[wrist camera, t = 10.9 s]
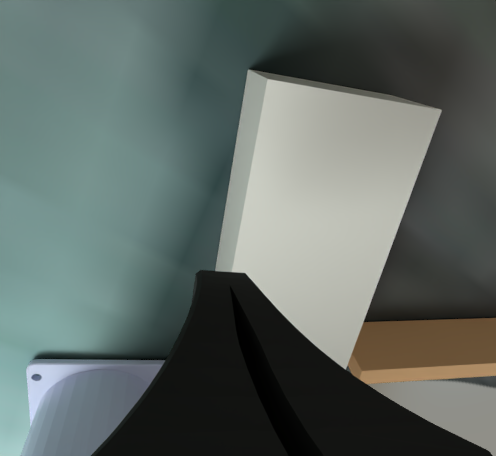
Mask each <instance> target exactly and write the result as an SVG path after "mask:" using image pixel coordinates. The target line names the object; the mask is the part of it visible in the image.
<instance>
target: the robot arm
mask: <svg viewBox="0 0 496 456" xmlns="http://www.w3.org/2000/svg"><path fill="white" fill-rule="evenodd" d="M26 372H27V385H28V398H29V411H30V424H31V427H30V430H29V433H28V435H27V438H26V441H25V444H24V446H23V449H22V452H21V455H20V456H492V455H491V453H490V452H489V451H488V450H486V449H484V448H482V447H479V446H478V445H476V444H474V443H471V442H469V441H467V440H465V439H463V438H461V437H459V436H457V435H455V434H453V433H451V432H449V431H447V430H445V429H443V428H440V427H439V426H436V425H435V424H433V423H431V422H429V421H427V420H425V419H423V418H422V417H420V416H418V415H416V414H415V413H413V412H411V411H409V410H407V409H406V408H404V407H402V406H400V405H399V404H397V403H395V402H394V401H392V400H390V399H389V398H387V397H385V396H384V395H382V394H381V393H379V392H377V391H376V390H375V389H373V388H371V387H370V386H369V385H367V384H366V383H364V382H363V381H361V380H360V379H358V378H357V377H355V376H354V375H352V374H351V373H350V372H348V371H347V370H345V369H344V368H343V367H341V366H340V365H339V364H338V363H336V362H335V361H334V360H332V359H331V358H330V357H329V356H327V355H326V354H325V353H324V352H322V351H321V350H320V349H319V348H318V347H316V346H315V345H314V344H313V343H312V342H311V341H310V340H309V339H307V338H306V337H305V336H304V335H303V334H302V333H301V332H300V331H299V330H298V329H297V328H296V327H295V326H294V325H293V324H292V323H291V322H290V321H289V320H288V319H287V318H286V317H285V316H284V315H283V314H282V313H281V312H280V311H279V310H278V309H277V308H276V307H275V306H274V305H273V304H272V303H271V301H270V300H269V299H268V298H267V297H266V296H265V295H264V294H263V293H262V291H261V290H260V289H259V288H258V287H257V286H256V284H255V283H254V282H253V281H252V280H251V279H250V278H249V277H248V275H247V274H246V273H239V272H222V271H205V270H200V271H199V272H197V273H196V276H195V283H194V290H193V298H192V305H191V308H190V311H189V314H188V316H187V319H186V321H185V323H184V326H183V328H182V330H181V332H180V334H179V337H178V339H177V341H176V342H175V344H174V346H173V348H172V350H171V352H170V354H169V355H168V357H167V359H166V360H74V359H35V360H32V361H30V362H29V364H28V366H27V369H26ZM35 374H39V376H38V375H35Z"/></svg>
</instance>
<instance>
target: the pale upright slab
mask: <svg viewBox="0 0 496 456" xmlns="http://www.w3.org/2000/svg"><path fill="white" fill-rule="evenodd" d="M441 111H442V110H441V109H437V108H434V107H430V106H427V105H423V104H420V103H417V102H413V101H410V100H406V99H403V98H400V97H396V96H393V95H388V94H383V93H377V92H372V91H366V90H361V89H355V88H349V87H344V86H338V85H333V84H327V83H322V82H316V81H311V80H305V79H300V78H294V77H289V76H283V75H278V74H272V73H267V72H261V71H255V70H250V69H248V73H247V79H246V85H245V91H244V97H243V103H242V110H241V116H240V122H239V128H238V134H237V140H236V146H235V152H234V158H233V164H232V170H231V176H230V183H229V189H228V195H227V201H226V207H225V213H224V219H223V225H222V231H221V237H220V243H219V249H218V256H217V262H216V268H215V271H222V272H239V273H246V274H247V275H248V277H249V278H250V279H251V280H252V281H253V282H254V283H255V284H256V286H257V287H258V288H259V289H260V290H261V291H262V293H263V294H264V295H265V296H266V297H267V298H268V299H269V300H270V301H271V303H272V304H273V305H274V306H275V307H276V308H277V309H278V310H279V311H280V312H281V313H282V314H283V315H284V316H285V317H286V318H287V319H288V320H289V321H290V322H291V323H292V324H293V325H294V326H295V327H296V328H297V329H298V330H299V331H300V332H301V333H302V334H303V335H304V336H305V337H306V338H307V339H309V340H310V341H311V342H312V343H313V344H314V345H315V346H316V347H318V348H319V349H320V350H321V351H322V352H324V353H325V354H326V355H327V356H329V357H330V358H331V359H332V360H334V361H335V362H336V363H338V364H339V365H340V366H341V367H343V368H344V369H345V370H346V368H347V365H348V362H349V360H350V357H351V354H352V352H353V349H354V346H355V344H356V341H357V338H358V335H359V333H360V330H361V327H362V325H363V322H364V319H365V317H366V314H367V311H368V308H369V306H370V303H371V300H372V298H373V295H374V292H375V290H376V287H377V284H378V281H379V279H380V276H381V273H382V271H383V268H384V265H385V262H386V260H387V257H388V254H389V252H390V249H391V246H392V244H393V241H394V238H395V235H396V233H397V230H398V227H399V225H400V222H401V219H402V217H403V214H404V211H405V208H406V206H407V203H408V200H409V198H410V195H411V192H412V190H413V187H414V184H415V181H416V179H417V176H418V173H419V171H420V168H421V165H422V163H423V160H424V157H425V154H426V152H427V149H428V146H429V144H430V141H431V138H432V136H433V133H434V130H435V127H436V125H437V122H438V119H439V117H440V114H441Z"/></svg>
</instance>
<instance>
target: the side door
mask: <svg viewBox="0 0 496 456" xmlns="http://www.w3.org/2000/svg"><path fill="white" fill-rule="evenodd" d="M348 367H349V369H350V371H351V373H352V374H353V375H354V376H355V377H357V378H358V379H360V380H361V381H363V382H364V383H366V384H375V383H390V382H405V381H421V380H436V379H451V378H466V377H482V376H496V318H476V319H445V320H414V321H383V322H363V325H362V327H361V330H360V333H359V335H358V338H357V341H356V344H355V346H354V349H353V352H352V354H351V357H350V360H349V362H348Z"/></svg>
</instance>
